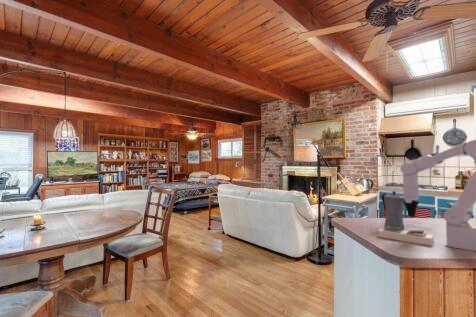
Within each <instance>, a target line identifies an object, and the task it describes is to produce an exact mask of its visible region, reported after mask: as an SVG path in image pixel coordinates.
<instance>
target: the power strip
mask: <svg viewBox="0 0 476 317" xmlns="http://www.w3.org/2000/svg"><path fill="white" fill-rule="evenodd" d="M409 231H410V230H391V229H386V228H385V227H380V228H379V229H377V237H378V238H383V239H384V238H385V239H389V238H390V239H391V240H395V239H396V240H395V241H401V240H402V241H401V242H407V243H412V242H413V244H418V243H419V244H420V245H424V244H425V246H429V247H433V244H434V242H435V241H434V234H428V233H425V232H423V233H410V232H409Z"/></svg>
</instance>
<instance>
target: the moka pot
mask: <svg viewBox="0 0 476 317" xmlns="http://www.w3.org/2000/svg"><path fill="white" fill-rule="evenodd" d="M396 193H397V192H396V191H395V190H394V191H392V194H387V193H385V192H384V193H383V194H382V196H381V200H382V203H383V208H384V211H386V214H385V220H384V227H383V228H386V227H388V226H389V227H399V228H400V229H399V230H402V231H405V225H404V219H403V212H404V207H405V204H404V203H403V201H406V200H405V199H404V198H401V196H402V195H399V194H396Z"/></svg>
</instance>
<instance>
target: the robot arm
mask: <svg viewBox="0 0 476 317" xmlns="http://www.w3.org/2000/svg"><path fill="white" fill-rule="evenodd" d="M458 156H469V157H470V158H472V159H473V161H475V163H476V139H474V140H473V139H472V140H470V141H468V142H463V143H461V144H460V143H459V144H456V145H455V146H453V147H450V148H447V149H446V150H444V151H442V152H438V153H436V154H434V155H430V154H427V155H426V154H423V155H421V157H419V158H416V159H412V160H410V162H408V161H407V162H404V163H402V164H401V166H400V172H401V173H402V182H403V183H402V185H403V186H402V187H403V188H402V189H403V195H400V196H401V198H404V199H405V201H403V203H404V207H405V208H406V211H407V216H408V217H409V218H415V217H416V212H417V207H418V205H419V204H420V201H419V200H420V197H419V178H418V174H419V173H420V172H422V171H425V170H429V169H432V168H434V167H436V166H437V164H438V163H440V162H441V161H445V160H449V159H450V158H453V157H458ZM475 203H476V170H475V171H474V173H473V175H472V176H471V177H470V179H469V181H468V182H467V184H466V185H465V187H464V189H463V190H462V192H461V194H460V195H459V197H458V198H457V200H456V201H455V202H454V203H453V204H452V205H451V207H450V208H449V209H447V210H445V211H444V213H443V219H444V220H445V228H446V232H445V233H446V241H445V244H444V246H445V247H447V248H456V249H461V250H466V251H472V252H473V251H474V252H476V226H471V225H470V223H469V221H470V220H471V217H472V216H471V212H472V211H473V208H474V205H475Z"/></svg>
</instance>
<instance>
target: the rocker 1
mask: <svg viewBox="0 0 476 317" xmlns="http://www.w3.org/2000/svg"><path fill="white" fill-rule="evenodd" d="M386 229H391V230H399V229H400V228H399V227H389V226H388V227H386Z"/></svg>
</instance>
